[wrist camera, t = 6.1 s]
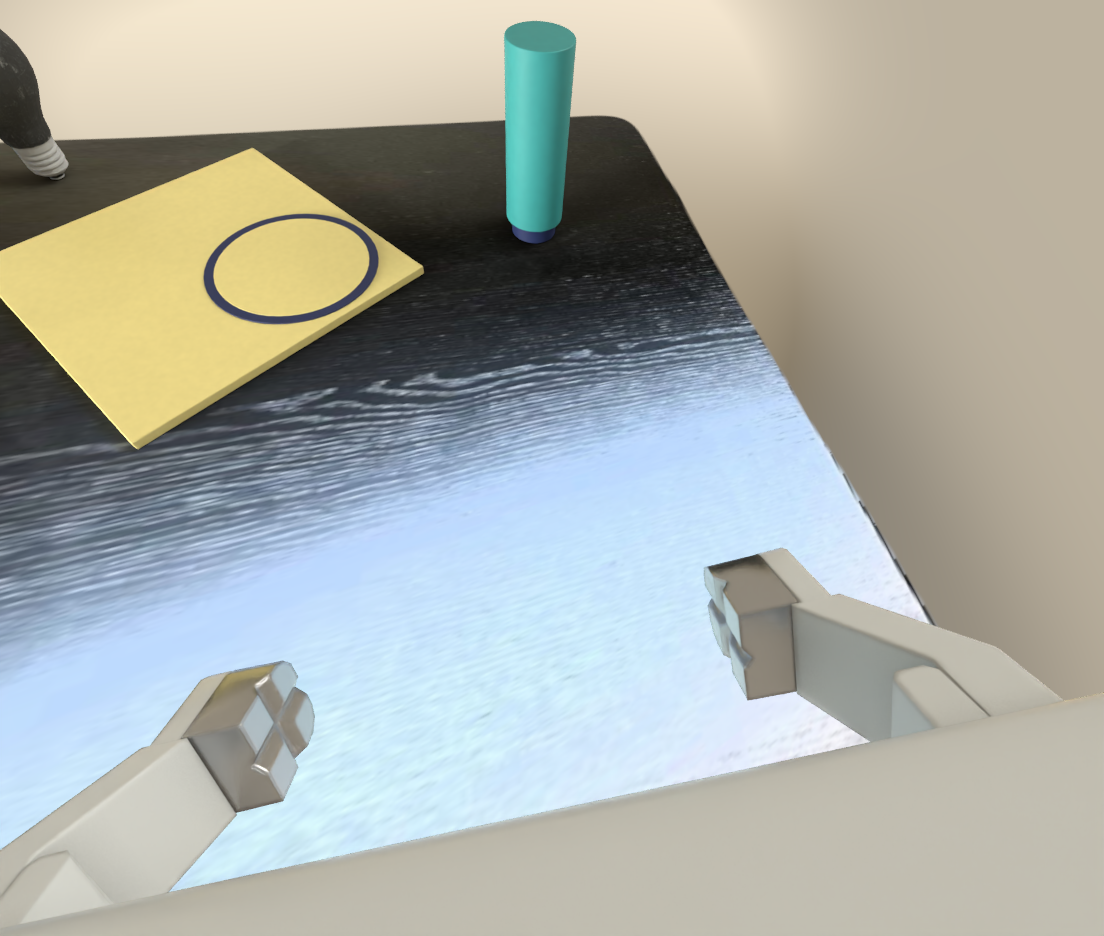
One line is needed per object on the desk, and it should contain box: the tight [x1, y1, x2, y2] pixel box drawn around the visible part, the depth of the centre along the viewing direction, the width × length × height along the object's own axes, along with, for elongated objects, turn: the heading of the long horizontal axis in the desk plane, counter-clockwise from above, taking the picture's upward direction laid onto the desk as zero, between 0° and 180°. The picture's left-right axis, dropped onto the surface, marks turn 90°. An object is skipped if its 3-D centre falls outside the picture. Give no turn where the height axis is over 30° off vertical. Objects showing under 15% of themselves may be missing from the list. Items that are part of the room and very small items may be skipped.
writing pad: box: [0, 148, 424, 449], centre depth 35 cm, size 20×20×1 cm
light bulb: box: [0, 29, 68, 180], centre depth 35 cm, size 6×6×10 cm
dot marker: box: [504, 21, 576, 243], centre depth 34 cm, size 4×4×12 cm
